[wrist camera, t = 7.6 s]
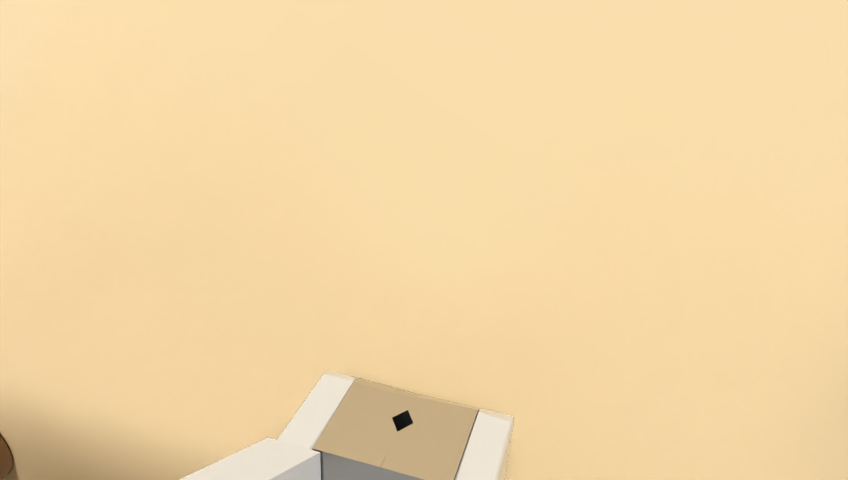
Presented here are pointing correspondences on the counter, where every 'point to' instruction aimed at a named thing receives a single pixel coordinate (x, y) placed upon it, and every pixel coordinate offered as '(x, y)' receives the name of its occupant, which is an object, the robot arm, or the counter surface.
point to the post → (4, 459)
